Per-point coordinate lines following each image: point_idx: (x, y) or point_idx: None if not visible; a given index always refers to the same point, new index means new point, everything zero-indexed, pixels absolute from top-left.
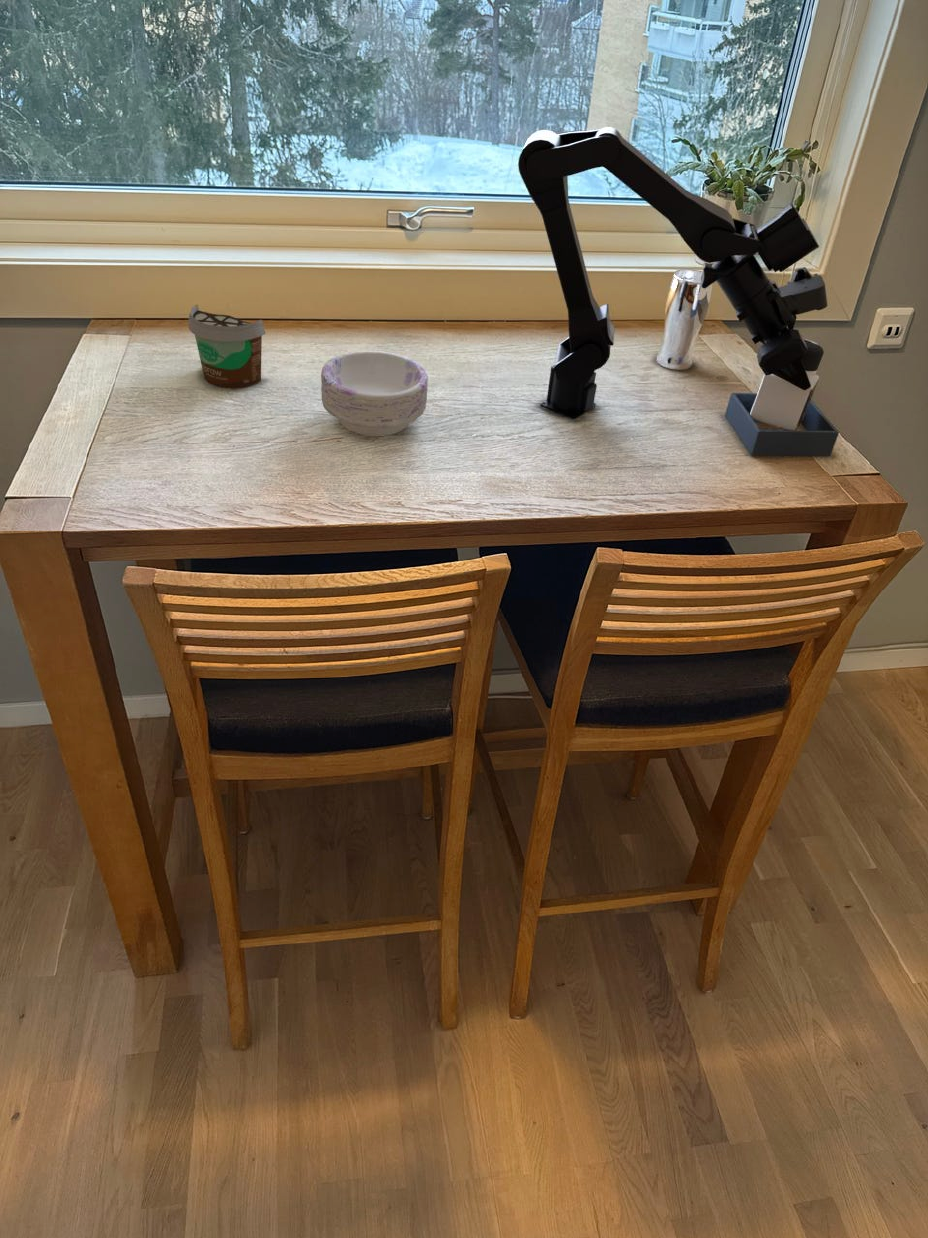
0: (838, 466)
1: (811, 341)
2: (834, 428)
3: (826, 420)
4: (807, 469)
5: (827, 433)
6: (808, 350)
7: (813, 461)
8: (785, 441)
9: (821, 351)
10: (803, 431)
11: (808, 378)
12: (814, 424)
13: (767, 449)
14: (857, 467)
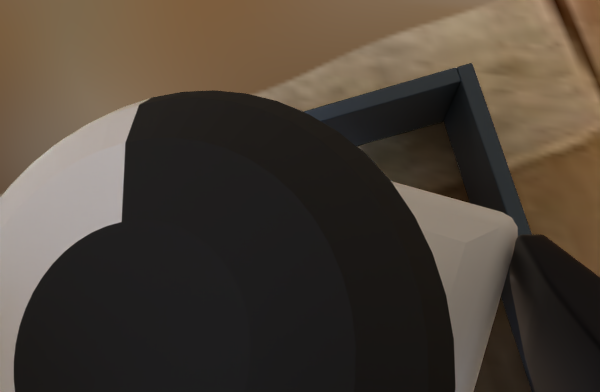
0: (523, 84)
1: (44, 228)
2: (437, 79)
3: (360, 107)
4: (597, 207)
5: (490, 116)
6: (422, 335)
7: (516, 175)
8: None
9: (306, 128)
10: (525, 232)
11: (551, 270)
12: None
13: None
14: (505, 18)
